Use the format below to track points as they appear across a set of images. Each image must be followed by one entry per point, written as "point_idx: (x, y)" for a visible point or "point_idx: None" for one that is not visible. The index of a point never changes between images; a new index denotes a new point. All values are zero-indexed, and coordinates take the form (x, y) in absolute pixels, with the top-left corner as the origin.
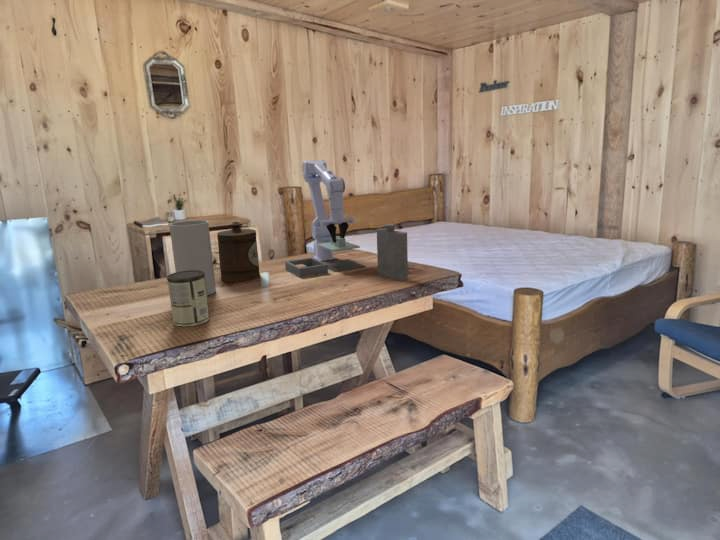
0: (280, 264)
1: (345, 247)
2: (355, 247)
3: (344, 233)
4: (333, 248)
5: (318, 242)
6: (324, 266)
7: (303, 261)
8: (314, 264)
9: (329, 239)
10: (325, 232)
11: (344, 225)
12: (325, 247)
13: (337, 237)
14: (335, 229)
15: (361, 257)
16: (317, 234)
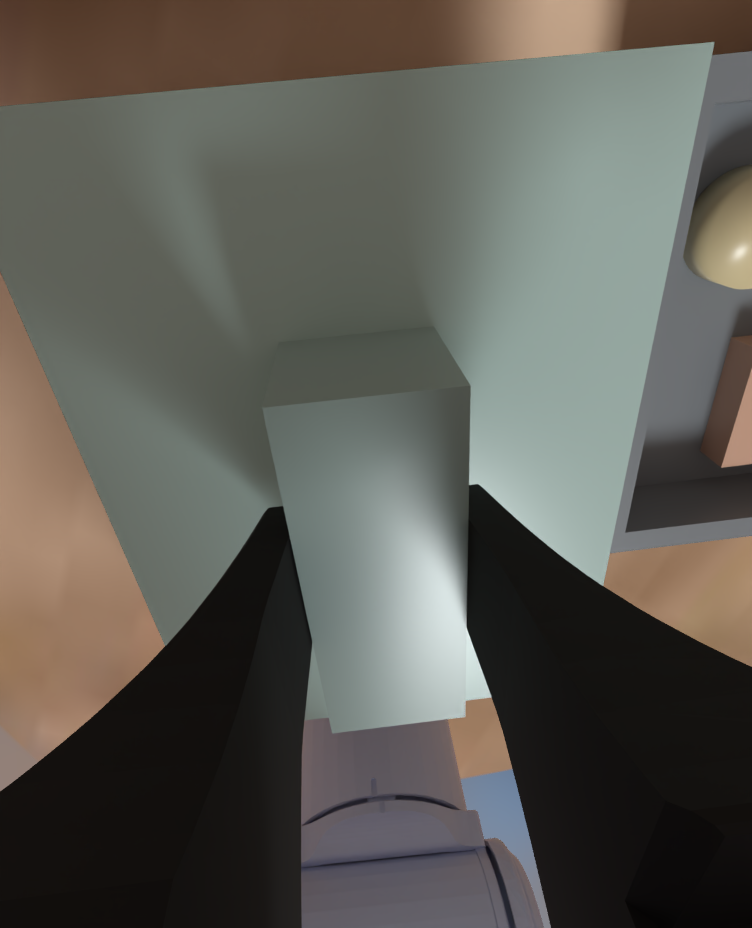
0: (719, 636)
1: (331, 187)
2: (76, 103)
3: (219, 621)
4: (597, 242)
5: (460, 793)
6: (728, 55)
7: (692, 509)
8: None
9: (345, 812)
10: (399, 925)
11: (136, 919)
12: (627, 450)
13: (368, 645)
14: (630, 703)
15: (45, 590)
16: (513, 892)
